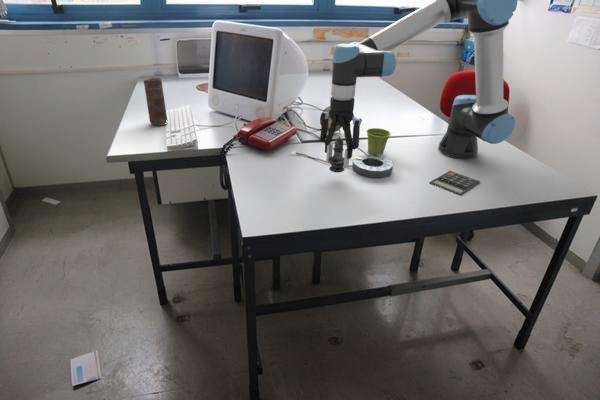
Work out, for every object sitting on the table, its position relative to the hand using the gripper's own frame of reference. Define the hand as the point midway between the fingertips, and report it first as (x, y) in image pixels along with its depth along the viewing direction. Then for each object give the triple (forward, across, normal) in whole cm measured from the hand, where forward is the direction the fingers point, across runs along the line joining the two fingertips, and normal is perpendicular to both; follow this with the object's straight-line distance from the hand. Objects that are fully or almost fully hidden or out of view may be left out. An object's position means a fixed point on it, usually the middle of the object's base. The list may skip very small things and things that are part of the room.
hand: (337, 164), depth 139 cm
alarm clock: (+6, +22, -38) cm, 45 cm away
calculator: (+7, -36, -22) cm, 42 cm away
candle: (+4, +88, 0) cm, 88 cm away
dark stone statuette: (+2, 0, 0) cm, 2 cm away
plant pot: (+6, -3, -30) cm, 30 cm away
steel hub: (+6, -8, -14) cm, 16 cm away
